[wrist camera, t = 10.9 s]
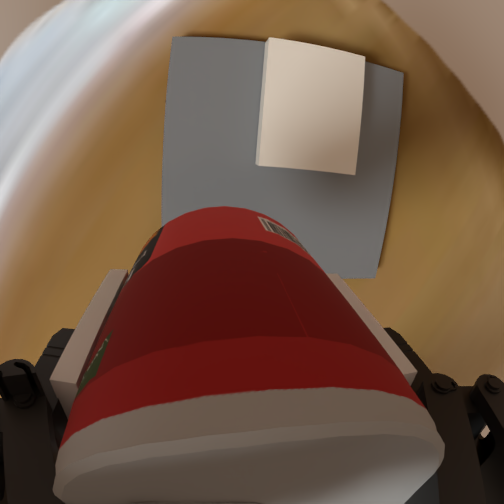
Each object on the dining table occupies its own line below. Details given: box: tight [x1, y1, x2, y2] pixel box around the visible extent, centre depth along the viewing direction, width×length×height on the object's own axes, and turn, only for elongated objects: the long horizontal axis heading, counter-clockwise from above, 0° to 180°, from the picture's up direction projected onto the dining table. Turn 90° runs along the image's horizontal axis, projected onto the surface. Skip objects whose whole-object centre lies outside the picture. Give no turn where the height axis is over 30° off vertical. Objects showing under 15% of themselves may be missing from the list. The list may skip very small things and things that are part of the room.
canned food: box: [53, 206, 445, 504], centre depth 9 cm, size 8×8×11 cm
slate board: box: [162, 37, 404, 279], centre depth 23 cm, size 18×18×1 cm
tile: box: [255, 37, 365, 175], centre depth 20 cm, size 2×7×9 cm
